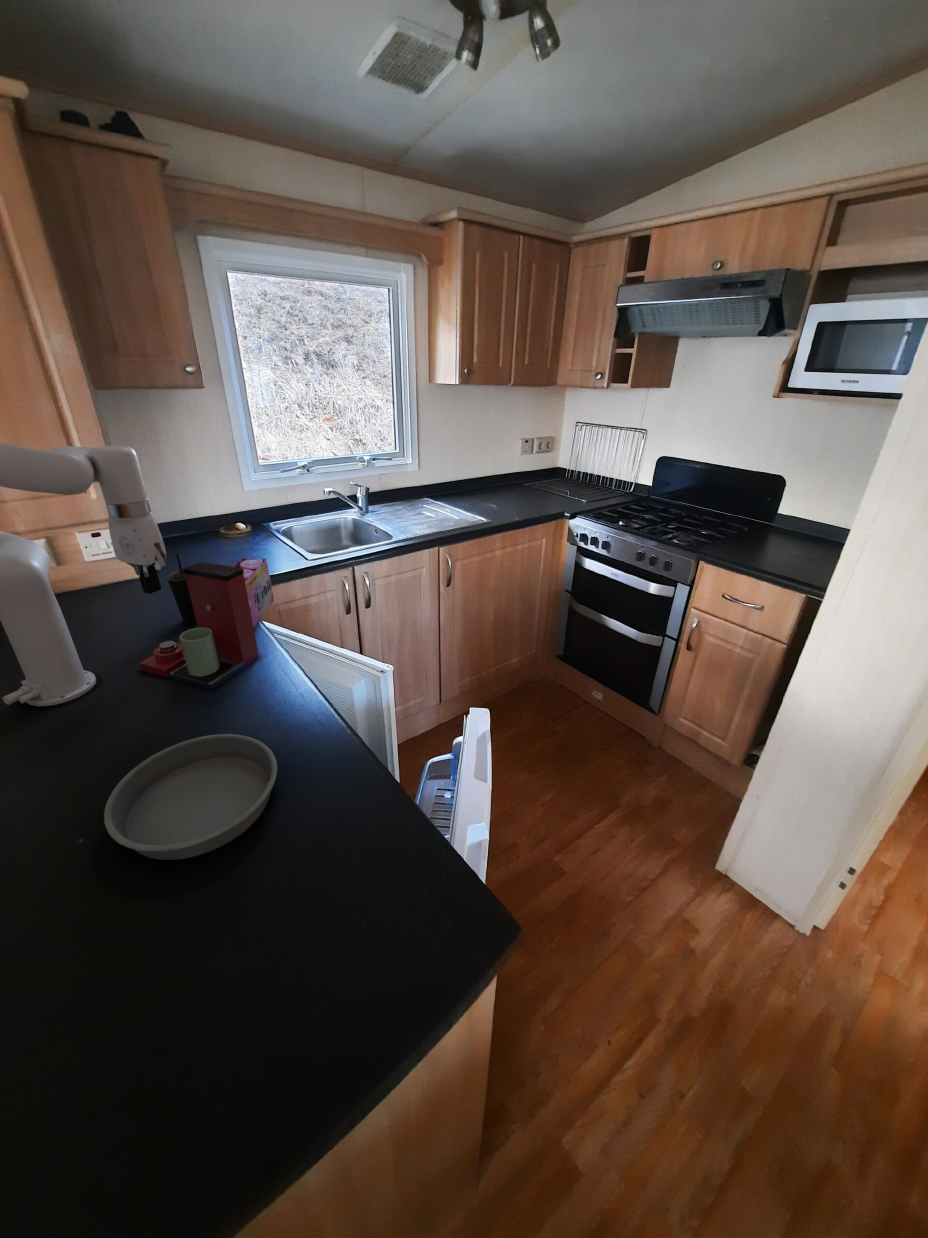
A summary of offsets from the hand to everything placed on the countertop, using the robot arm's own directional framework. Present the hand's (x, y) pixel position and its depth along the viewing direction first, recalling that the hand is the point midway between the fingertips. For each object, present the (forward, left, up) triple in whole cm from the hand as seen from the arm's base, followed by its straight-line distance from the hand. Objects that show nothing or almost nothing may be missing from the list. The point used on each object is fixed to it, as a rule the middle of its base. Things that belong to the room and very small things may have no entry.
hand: (152, 590), depth 112 cm
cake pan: (-31, -40, -19) cm, 54 cm away
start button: (0, 0, -15) cm, 15 cm away
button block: (0, 0, -19) cm, 19 cm away
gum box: (+27, +1, -19) cm, 33 cm away
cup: (-1, -11, -17) cm, 20 cm away
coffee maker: (+2, -11, -19) cm, 22 cm away
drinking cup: (+19, +13, -19) cm, 30 cm away
